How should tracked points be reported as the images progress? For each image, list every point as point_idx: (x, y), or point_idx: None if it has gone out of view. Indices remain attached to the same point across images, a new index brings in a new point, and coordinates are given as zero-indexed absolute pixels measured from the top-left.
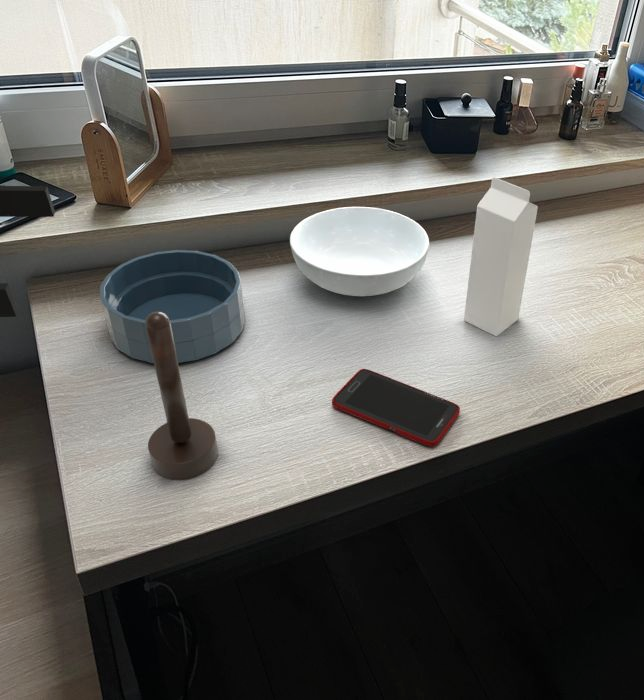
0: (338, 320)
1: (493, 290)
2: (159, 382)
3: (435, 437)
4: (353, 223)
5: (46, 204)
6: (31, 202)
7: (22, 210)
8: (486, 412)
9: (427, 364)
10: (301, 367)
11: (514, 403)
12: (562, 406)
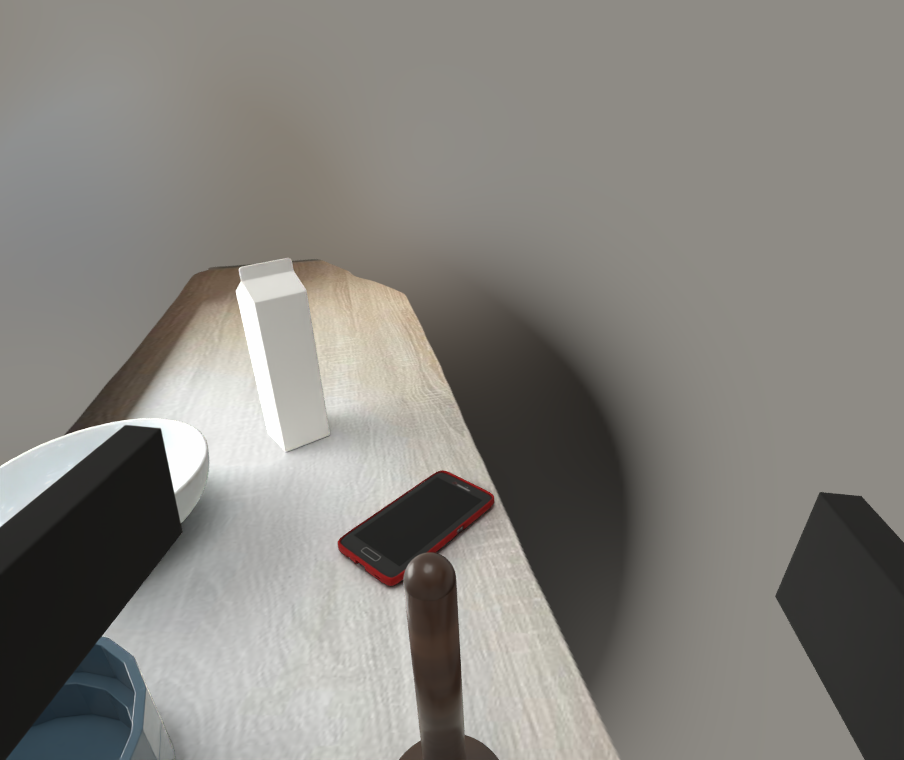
0: (200, 565)
1: (309, 386)
2: (451, 707)
3: (486, 494)
4: (7, 496)
5: (164, 493)
6: (128, 522)
7: (109, 591)
8: (447, 460)
9: (348, 490)
10: (285, 620)
11: (439, 441)
12: (453, 415)
